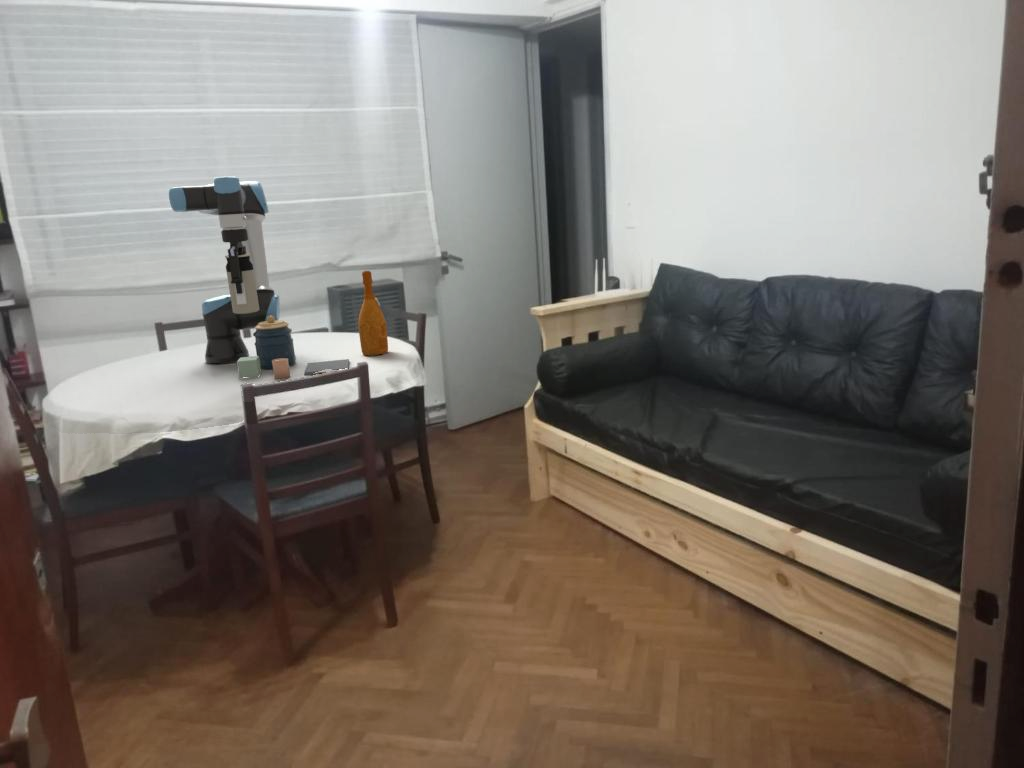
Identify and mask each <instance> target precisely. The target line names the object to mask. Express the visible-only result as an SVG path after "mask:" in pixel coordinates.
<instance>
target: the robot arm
mask: <svg viewBox="0 0 1024 768" xmlns="http://www.w3.org/2000/svg"><path fill="white" fill-rule="evenodd" d="M168 198H169V204H170V208H171V209H172V211H174V212H176V213H177V212H178V213H179V212H181V213H187V212H199V213H201V214H205V215H214V216H218V221H219V227H220V229H222V230H221V231H220V233H221V239H222V243H229V244H230V245H229V248H228V249H227V255H229V261H230V270H231V278H232V279H231V280H232V281H231V284H234V286H235V292H236V299H237V304H247V301H246V294H245V288H244V283H242V282H243V280H242V271H241V261H242V258H241V259H240V260H238V255H243V254H250V261H251V263H252V264H253V270H254V277H255V283H256V290H257V297H258V304H259V310H258V311H257V312H253V313H247V314H235V313H233V309H232V303H231V297H230V294H224V295H219V296H216V297H212V298H208V299H206V300H204V301H203V302H202V303H201V310H202V311H201V312H202V313H201V314H202V317H203V322H204V327H205V335H206V340H207V341H206V348H205V353H204V359H205V363H206V362H207V363H206V364H209V363H223V364H231V363H237V362H236V361H238V360H239V358H241V357H250V354H249V352H250V351H249V349H248V348H247V345H246V344H245V342H244V340H243V338H242V335H241V331H242V330H243V331H244V330H253V329H254V330H255V326H257V325H258V323H260V322H264V321H267V317H268V316H270V315H272V316H274V318H275V320H280V309H281V307H280V306H281V305H280V296H279V295H278V294H276V293H275V289H273V288H272V287H271V286H270V281H269V274H268V272H269V271H268V265H267V258H266V250H265V249H266V248H265V242H264V241H265V240H264V233H263V225H262V224H263V222H264V220H265V219H266V215H265V214H269V206H268V203H267V200H266V195H265V193H264V189H263V185H262V183H260V182H259V181H249V180H247V181H240V178H239V177H238V176H217V177H214V179H213V183H209V184H207V185H196V186H195V185H191V186H176V187H175V186H174V187H171V188H169V190H168ZM230 362H231V363H230Z"/></svg>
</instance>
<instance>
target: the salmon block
mask: <svg viewBox="0 0 1024 768" xmlns="http://www.w3.org/2000/svg"><path fill="white" fill-rule="evenodd" d="M272 365H273V369H272V371H273V372H272V373H273V377H274V380H276V379H277V380H276V381H280V380H281V381H282V380H287V379H289V378H291V372H290V371H291V369H290V366H289V363H288V358H278V359H274V360H272ZM279 379H280V380H279Z"/></svg>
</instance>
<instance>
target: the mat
mask: <svg viewBox="0 0 1024 768" xmlns="http://www.w3.org/2000/svg"><path fill="white" fill-rule="evenodd" d="M349 366H350V358H346V359H336V360H327V361H326V360H325V361H314V362H308V363H306V367H305V369H304V372H303V373H304V376H311V375H310V374H313V373H315V372H318V371H322V370H325V369H332V370H339V369H345V368H348V369H349Z"/></svg>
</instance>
